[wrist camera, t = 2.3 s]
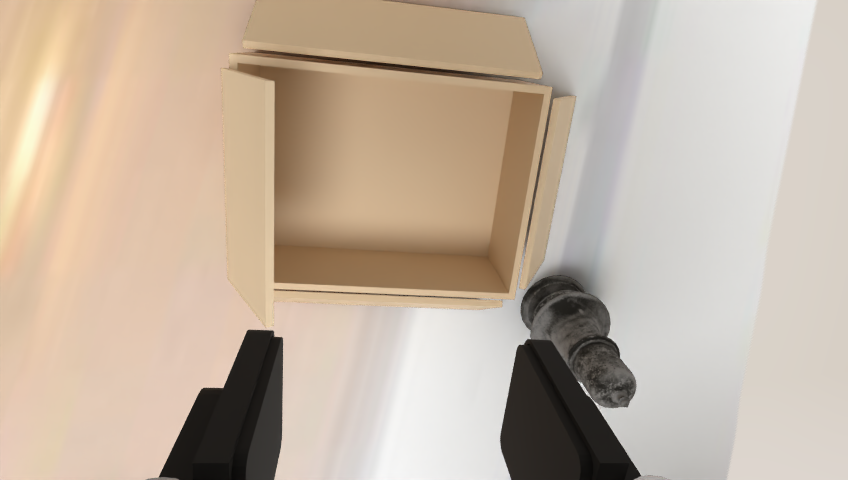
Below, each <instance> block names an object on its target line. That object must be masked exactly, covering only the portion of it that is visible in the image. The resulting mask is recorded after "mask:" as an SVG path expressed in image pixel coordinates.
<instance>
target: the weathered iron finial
mask: <svg viewBox="0 0 848 480" xmlns="http://www.w3.org/2000/svg"><path fill="white" fill-rule="evenodd" d="M521 316H522V320H523V322H524V323H525V325H526V326H527V328H528V329H530V330H531V334H530V337H531V339H535V340H551V341H552V342H553V344H554V345H555V347H556V348H557V350H558V351H559V353H560V355H561V356H562V358H563V359H564V361H565V362H566V364H567V366H568V367H569V369H570V370H571V372H572V373H573V375H574V377H575V378H576V380H577V381H579V382H582V383H583V385H584V387H585V388H586V390H587V391H588V393H589V394H590V396H591V397H592V399H593V400H594V401H595V402H597V403H598V404H599V405H601V406H603V407H607V408H618V407H628V405H629V402H630V400H631V399H632V398H633V396H634V394H635V391H636V380H635V378H634V376H633V374H632V372H631V371H630V370H629V369H628V367H627V366H626V365H625V364H624V363H623V361H622V360H621V359H620V352H619V348H618V347H617V345H616V343H615V342H614V341H612V340H611V339H610V338H608V337H607V336H608V333H609V330H610V316H609V312H608V310H607V308H606V306H605V305H604V304H603V303H602V302H601V301H600V300H599V299H598V298H596V297H594V296H592V295H590V294H587V293H585V291H584V289H583V287H582V286H581V285H580V284H579V283H578V282H577V281H576V280H574V279H572V278H570V277H566V276H561V275H560V276H550V277H547V278H544V279H542V280H540V281H538V282H537V283H535V284H534V285H533V286H532V287H531V288H530V289H529V290H528V291H527V293H526V294H525V296H524V298H523V301H522V304H521Z"/></svg>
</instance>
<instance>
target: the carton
mask: <svg viewBox="0 0 848 480" xmlns="http://www.w3.org/2000/svg"><path fill="white" fill-rule="evenodd" d="M242 42H243V48H250V49H259V50H268V51H278V52H287V53H297V54H306V55H316V56H325V57H335V58H344V59H353V60H363V61H372V62H382V63H391V64H401V65H410V66H419V67H429V68H438V69H448V70H457V71H467V72H476V73H485V74H495V75H504V76H514V77H523V78H533V79H541V77H542V74H543V72H542V69H541V66H540V63H539V60H538V57H537V54H536V51H535V48H534V45H533V42H532V39H531V36H530V33H529V30H528V27H527V24H526V21H525V18H523V17H515V16H506V15H498V14H490V13H482V12H474V11H466V10H457V9H449V8H441V7H433V6H425V5H417V4H408V3H400V2H392V1H384V0H256V3H255V6H254V8H253V11H252V14H251V17H250V20H249V23H248V25H247V28H246V31H245V34H244V37H243V40H242ZM229 69H232V70H236V71H240V72H243V73H247V74H250V75H254V76H258V77H261V78H265V79H268V80H272V81H275V101H274V289H289V290H311V291H333V292H356V293H378V294H400V295H423V296H445V297H467V298H490V299H512V300H514V298H515V293H516V287H517V282H518V276H519V271H520V265H521V259H522V254H523V248H524V243H525V237H526V232H527V226H528V221H529V215H530V210H531V204H532V199H533V193H534V188H535V182H536V177H537V171H538V166H539V160H540V155H541V149H542V143H543V138H544V132H545V127H546V121H547V116H548V110H549V105H550V99H551V94H552V88H553V87H549V86H544V85H540V84H535V83H530V82H526V81H521V80H513V79H504V78H494V77H485V76H475V75H466V74H456V73H447V72H437V71H428V70H418V69H409V68H399V67H390V66H380V65H370V64H361V63H351V62H342V61H332V60H323V59H313V58H304V57H294V56H285V55H275V54H266V53H256V52H251V53H229ZM575 101H576V96H565V97H559V98H554V99H553V104H552V110H551V115H550V121H549V126H548V132H547V137H546V143H545V148H544V154H543V159H542V164H541V170H540V175H539V181H538V186H537V192H536V197H535V203H534V208H533V214H532V219H531V225H530V230H529V236H528V241H527V246H526V252H525V257H524V263H523V268H522V274H521V279H520V285H519V288H520V289H524V290H525V289H526V288H527V286H528V284H529V283H530V281H531V280H532V278H533V277H534V275H535V274H536V272H537V270H538V269H539V267H540V266H541V264H542V263H543V261H544V258H545V253H546V248H547V243H548V237H549V232H550V227H551V222H552V217H553V212H554V207H555V202H556V197H557V192H558V187H559V182H560V177H561V172H562V167H563V161H564V156H565V151H566V146H567V141H568V136H569V131H570V126H571V121H572V116H573V111H574V106H575ZM274 302H298V303H322V304H346V305H371V306H395V307H419V308H443V309H467V310H483V309H490V308H498V307H502V301H500V300H477V299H454V298H432V297H409V296H387V295H364V294H342V293H319V292H297V291H274Z"/></svg>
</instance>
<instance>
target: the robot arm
mask: <svg viewBox="0 0 848 480" xmlns="http://www.w3.org/2000/svg"><path fill="white" fill-rule="evenodd" d="M282 389H283V338H282V337H274V331H269V330H248V331H247V333H246V335H245V337H244V340H243V342H242V345H241V347H240V349H239V352H238V354H237V357H236V359H235V362H234V364H233V366H232V369H231V371H230V374H229V376H228V378H227V381H226V383H225V386H224V388H203V389H201V391H200V393H199V394H198V396H197V398H196V400H195V403H194V405H193V407H192V409H191V411H190V413H189V415H188V417H187V419H186V421H185V423H184V425H183V428H182V430H181V432H180V434H179V436H178V438H177V440H176V442H175V444H174V446H173V448H172V451H171V453H170V455H169V457H168V459H167V461H166V463H165V465H164V467H163V469H162V471H161V473H160V476H159V478H151V479H147V480H274V477H275V472H276V468H277V463H278V458H279V453H280V448H281V440H282ZM500 442H501V450H502V453H503V456H504V459H505V462H506V465H507V468H508V471H509V474H510V477H511V480H669V479H666V478H663V477H660V476H651V475H647V476H641V475H640V473H639V472H638V470H637V468H636V467H635V465H634V464H633V462H632V461H631V459H630V458H629V456H628V455H627V453H626V451H625V450H624V448H623V447H622V445H621V444H620V442H619V441H618V439H617V437H616V436H615V434H614V433H613V431H612V430H611V428H610V427H609V425H608V423H607V422H606V420H605V419H604V417H603V416H602V414H601V413H600V411H599V410H598V408H597V406H596V405H595V403H594V402H593V400H592V399H591V398H590V397H589V396H587V395H586V394H585V392H584V391H583V389H582V388H581V386H580V384H579V383H578V381H577V380H576V378H575V377H574V375H573V373H572V372H571V370H570V369H569V367H568V366H567V364H566V362H565V361H564V359H563V358H562V356H561V355H560V353H559V351H558V350H557V348H556V347H555V345H554V344H553V342H552V341H551V340H535V339H528V340H526V342H525V344H524V345H519V346H518V348H517V351H516V356H515V362H514V367H513V372H512V377H511V383H510V388H509V393H508V398H507V404H506V409H505V414H504V420H503V425H502V430H501V436H500Z"/></svg>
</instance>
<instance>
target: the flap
mask: <svg viewBox="0 0 848 480" xmlns="http://www.w3.org/2000/svg"><path fill="white" fill-rule="evenodd" d="M221 79H222V112H223V145H224V178H225V211H226V245H227V278H228V280H229V282H230V283H231V284H232V285H233V287H234V288H235V289H236V291H237V292H238V293H239V294H240V296H241V297H242V298H243V299H244V301H245V302H246V303H247V305H248V306H249V307H250V308H251V310H252V311H253V312H254V313H255V315H256V316H257V317H258V319H259V320H260V321H261V322H262V324H263V325H264V326H265V328H266V327H271V326H274V101H275V81H272V80H268V79H265V78H261V77H258V76H254V75H250V74H247V73H243V72H240V71H236V70H232V69H227V68H221Z"/></svg>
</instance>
